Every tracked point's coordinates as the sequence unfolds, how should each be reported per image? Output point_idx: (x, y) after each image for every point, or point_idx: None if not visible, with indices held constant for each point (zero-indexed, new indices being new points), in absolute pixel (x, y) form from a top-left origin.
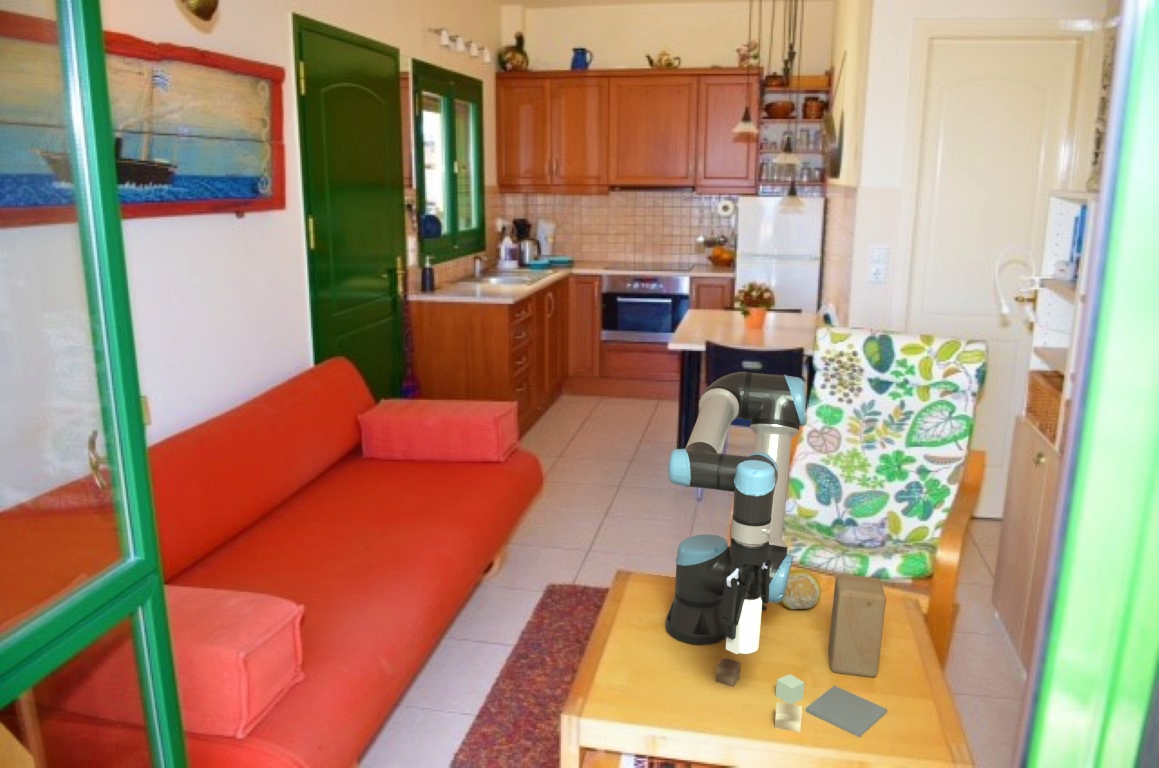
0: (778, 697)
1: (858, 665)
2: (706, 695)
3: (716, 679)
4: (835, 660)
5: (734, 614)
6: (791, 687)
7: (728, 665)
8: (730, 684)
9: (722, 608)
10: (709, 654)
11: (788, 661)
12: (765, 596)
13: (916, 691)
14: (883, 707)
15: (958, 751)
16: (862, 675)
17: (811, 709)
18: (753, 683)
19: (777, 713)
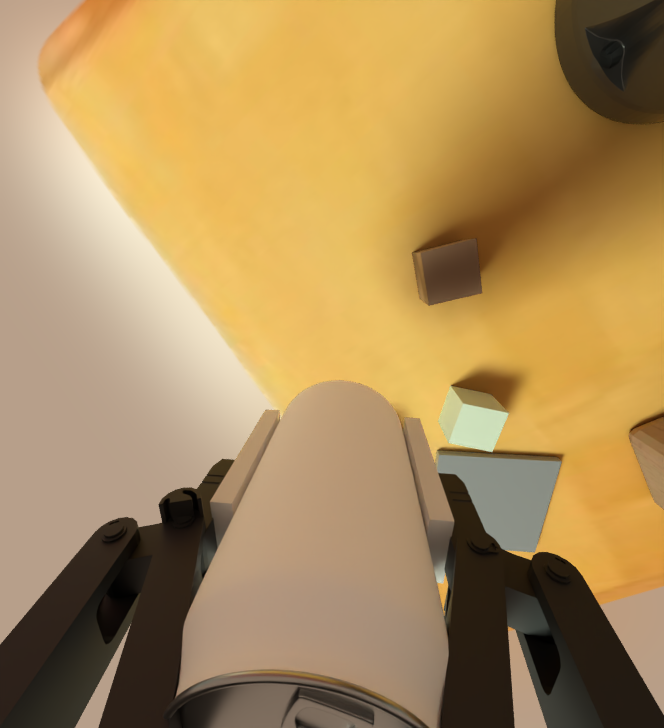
0: (448, 393)
1: (662, 491)
2: (344, 272)
3: (413, 254)
4: (653, 453)
5: (113, 647)
6: (451, 441)
7: (443, 277)
8: (419, 292)
9: (29, 621)
10: (532, 147)
11: (623, 335)
12: (535, 683)
13: (641, 560)
14: (536, 546)
15: None
16: (646, 481)
17: (440, 464)
18: (466, 325)
19: None
